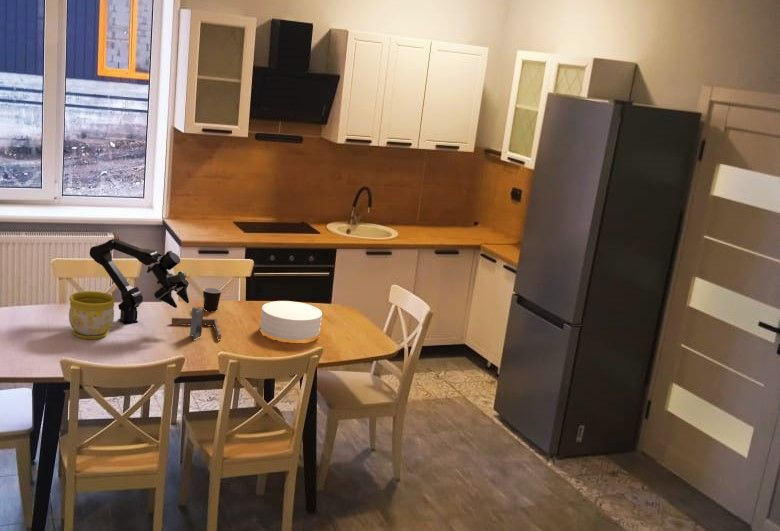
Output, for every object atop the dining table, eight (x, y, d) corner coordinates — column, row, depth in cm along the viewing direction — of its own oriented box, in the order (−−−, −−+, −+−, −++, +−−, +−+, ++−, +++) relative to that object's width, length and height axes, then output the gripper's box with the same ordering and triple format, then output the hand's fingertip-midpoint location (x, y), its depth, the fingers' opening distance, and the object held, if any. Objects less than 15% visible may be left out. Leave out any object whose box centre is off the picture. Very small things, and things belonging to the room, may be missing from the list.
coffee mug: (217, 313, 385) (219, 294, 383) (199, 311, 385) (201, 291, 383) (222, 306, 397) (224, 287, 394) (205, 304, 397) (207, 285, 394)
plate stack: (247, 332, 367) (249, 308, 364) (282, 319, 391) (285, 297, 389) (297, 348, 355) (300, 324, 352) (330, 334, 379) (333, 312, 377)
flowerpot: (59, 337, 329) (60, 299, 325) (81, 324, 346) (83, 288, 342) (100, 344, 327) (102, 306, 323) (120, 331, 344) (122, 295, 340)
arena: (220, 340, 350) (221, 334, 350) (173, 339, 344) (174, 333, 343) (216, 325, 369) (216, 319, 368) (171, 323, 363) (172, 317, 362)
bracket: (194, 340, 346) (197, 312, 343) (184, 338, 348) (187, 309, 345) (200, 337, 351) (203, 309, 348) (191, 335, 352) (193, 307, 349)
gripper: (162, 269, 337) (182, 300, 336) (187, 262, 354) (206, 291, 354) (145, 283, 341) (165, 313, 340) (170, 275, 358) (189, 304, 358)
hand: (182, 305), depth 348 cm, fingers open, 9 cm apart
